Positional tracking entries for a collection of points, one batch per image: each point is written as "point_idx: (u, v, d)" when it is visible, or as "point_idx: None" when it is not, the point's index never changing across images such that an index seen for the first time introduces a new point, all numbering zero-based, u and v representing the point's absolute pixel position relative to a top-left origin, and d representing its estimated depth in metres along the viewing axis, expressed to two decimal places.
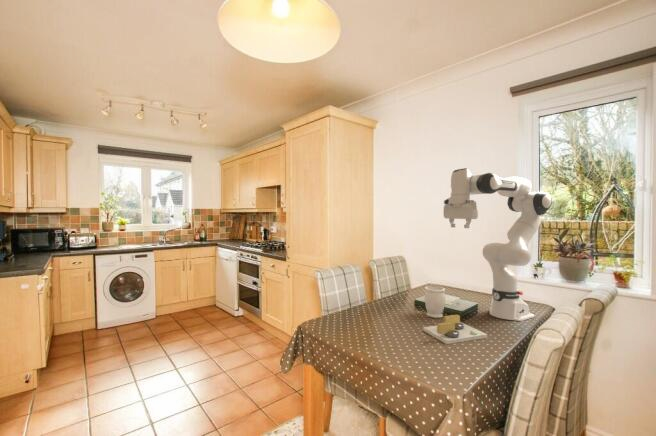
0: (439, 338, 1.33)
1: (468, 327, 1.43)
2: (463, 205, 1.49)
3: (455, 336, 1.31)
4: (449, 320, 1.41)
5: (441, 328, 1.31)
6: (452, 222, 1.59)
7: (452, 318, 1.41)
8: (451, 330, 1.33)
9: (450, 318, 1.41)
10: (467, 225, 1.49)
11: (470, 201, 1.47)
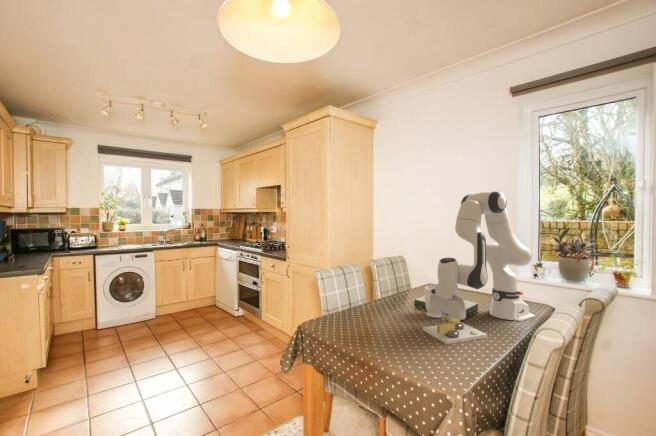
0: (439, 338, 1.33)
1: (468, 327, 1.43)
2: (450, 301, 1.37)
3: (455, 336, 1.31)
4: None
5: (441, 328, 1.31)
6: (444, 315, 1.43)
7: None
8: (451, 330, 1.33)
9: None
10: (450, 321, 1.39)
11: (458, 299, 1.34)
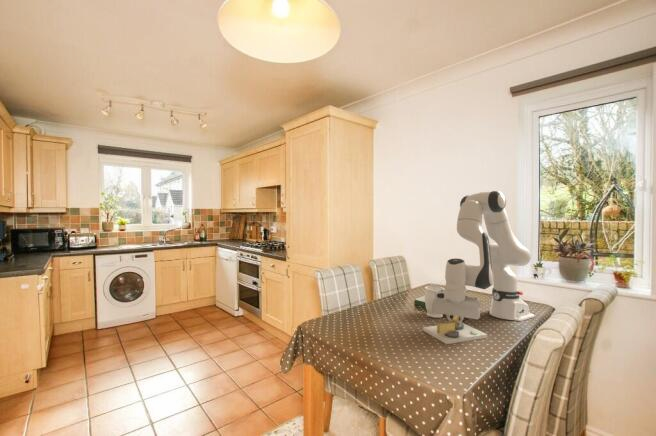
0: (439, 338, 1.33)
1: (468, 327, 1.43)
2: (465, 302, 1.35)
3: (455, 336, 1.31)
4: (456, 322, 1.38)
5: (441, 328, 1.31)
6: (449, 318, 1.40)
7: (457, 319, 1.40)
8: (451, 330, 1.33)
9: (457, 319, 1.39)
10: (460, 323, 1.37)
11: (473, 299, 1.34)
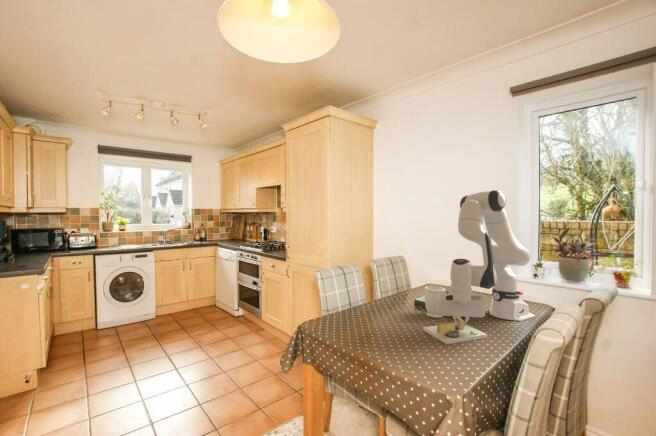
0: (439, 338, 1.33)
1: (468, 327, 1.43)
2: (472, 302, 1.35)
3: (455, 336, 1.31)
4: None
5: (441, 328, 1.31)
6: (455, 319, 1.38)
7: None
8: (451, 330, 1.33)
9: None
10: None
11: (478, 297, 1.36)
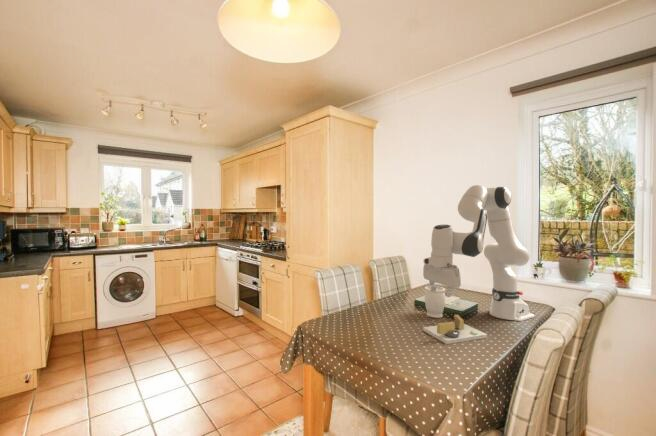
0: (439, 338, 1.33)
1: (468, 327, 1.43)
2: (444, 269, 1.27)
3: (455, 336, 1.31)
4: None
5: (441, 328, 1.31)
6: (432, 285, 1.37)
7: None
8: (451, 330, 1.33)
9: None
10: (448, 293, 1.27)
11: (452, 266, 1.25)
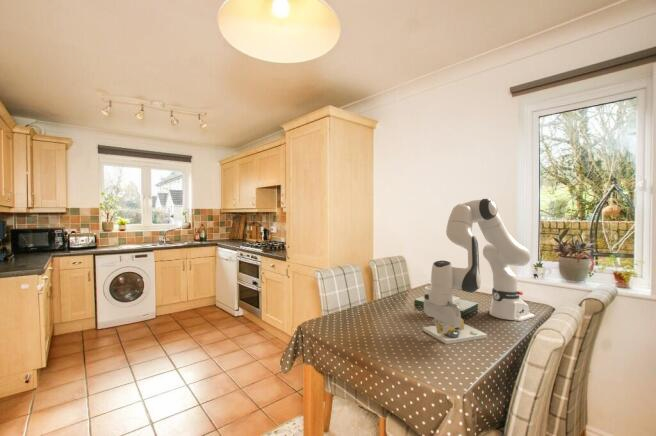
0: (439, 338, 1.33)
1: (468, 327, 1.43)
2: (445, 308, 1.27)
3: (455, 336, 1.31)
4: None
5: None
6: (438, 322, 1.34)
7: None
8: (451, 330, 1.33)
9: None
10: (444, 329, 1.30)
11: (452, 305, 1.25)
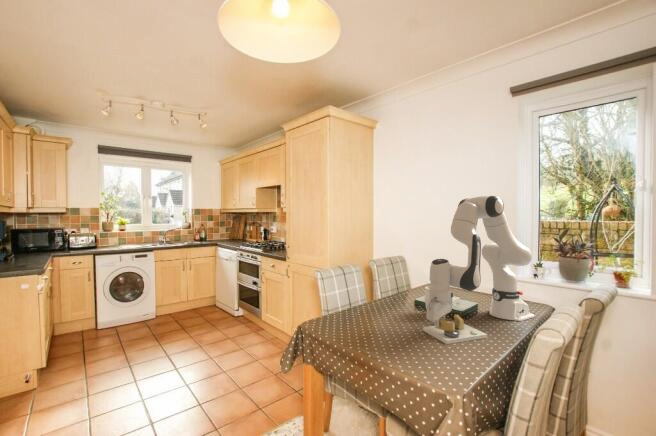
0: (439, 338, 1.33)
1: (468, 327, 1.43)
2: None
3: (447, 335, 1.32)
4: None
5: None
6: (441, 318, 1.39)
7: None
8: (448, 329, 1.34)
9: None
10: (435, 324, 1.35)
11: None
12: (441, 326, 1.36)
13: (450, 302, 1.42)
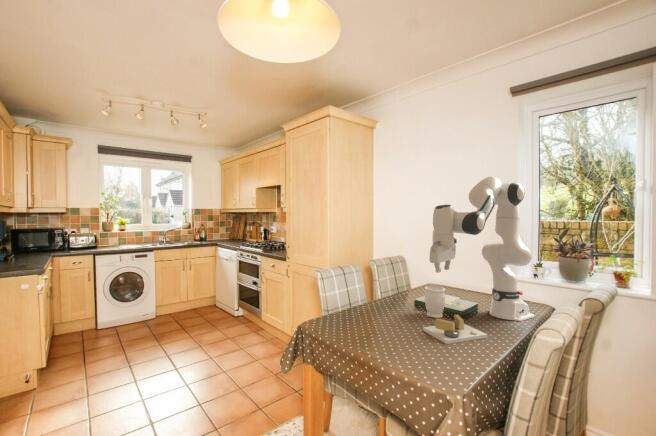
0: (439, 338, 1.33)
1: (468, 327, 1.43)
2: None
3: (447, 335, 1.32)
4: None
5: (437, 323, 1.37)
6: (447, 263, 1.42)
7: None
8: (448, 329, 1.34)
9: None
10: (436, 269, 1.34)
11: None
12: (441, 326, 1.36)
13: (453, 249, 1.42)
